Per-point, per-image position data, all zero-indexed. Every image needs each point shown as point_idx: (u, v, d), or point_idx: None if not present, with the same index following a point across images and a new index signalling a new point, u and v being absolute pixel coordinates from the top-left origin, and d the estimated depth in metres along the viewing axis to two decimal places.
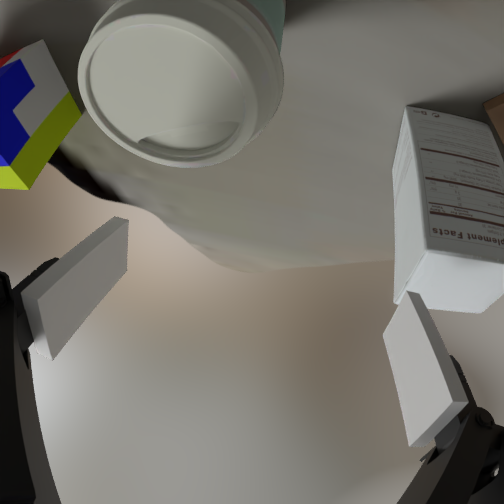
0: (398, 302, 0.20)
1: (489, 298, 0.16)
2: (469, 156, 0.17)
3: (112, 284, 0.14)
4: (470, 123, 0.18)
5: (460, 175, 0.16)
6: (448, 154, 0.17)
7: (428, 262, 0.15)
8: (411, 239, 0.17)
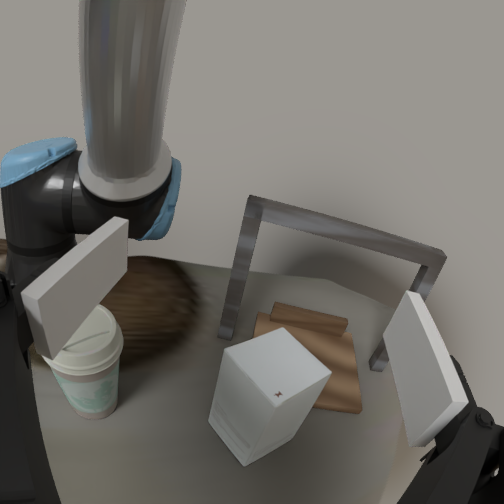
0: (274, 401, 0.23)
1: (306, 356, 0.28)
2: None
3: (112, 284, 0.14)
4: None
5: None
6: None
7: (235, 354, 0.27)
8: (232, 380, 0.27)
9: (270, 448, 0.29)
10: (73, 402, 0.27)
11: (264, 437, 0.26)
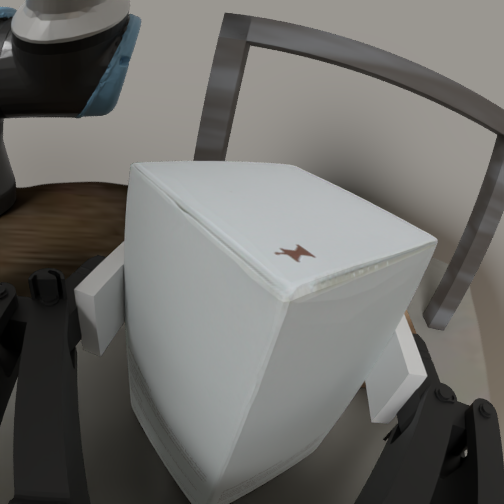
0: (278, 274, 0.05)
1: (361, 201, 0.10)
2: None
3: None
4: None
5: None
6: None
7: (156, 169, 0.09)
8: (144, 252, 0.09)
9: (266, 477, 0.11)
10: None
11: (244, 454, 0.08)
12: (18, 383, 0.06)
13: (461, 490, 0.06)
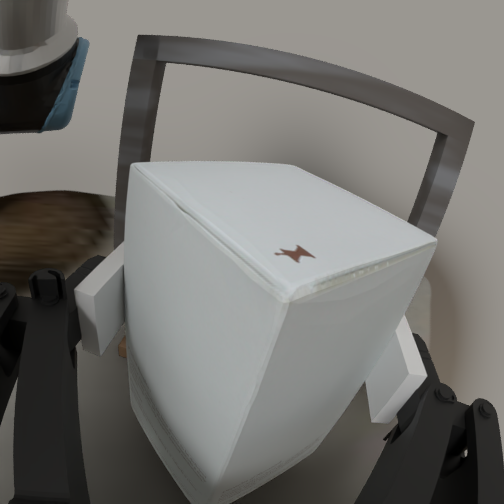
0: (278, 274, 0.05)
1: (361, 201, 0.10)
2: None
3: None
4: None
5: None
6: None
7: (156, 169, 0.09)
8: (144, 252, 0.09)
9: (266, 477, 0.11)
10: None
11: (244, 455, 0.07)
12: (18, 383, 0.06)
13: (461, 490, 0.06)
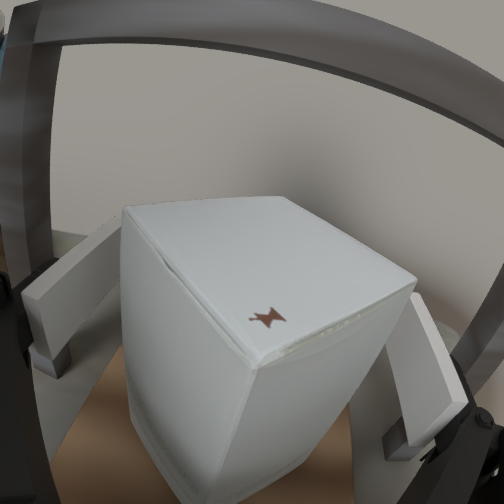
0: (250, 342, 0.06)
1: (344, 240, 0.11)
2: None
3: (112, 284, 0.14)
4: None
5: None
6: None
7: (146, 215, 0.09)
8: (137, 294, 0.09)
9: (256, 488, 0.12)
10: None
11: (230, 474, 0.08)
12: None
13: None
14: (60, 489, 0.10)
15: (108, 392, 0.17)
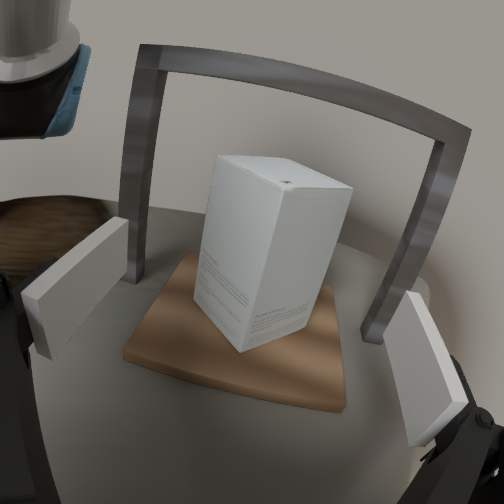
0: (281, 185, 0.18)
1: (318, 173, 0.23)
2: None
3: (112, 284, 0.14)
4: None
5: None
6: None
7: (229, 158, 0.22)
8: (225, 191, 0.21)
9: (277, 323, 0.24)
10: None
11: (268, 275, 0.20)
12: None
13: None
14: (147, 337, 0.22)
15: (176, 286, 0.29)
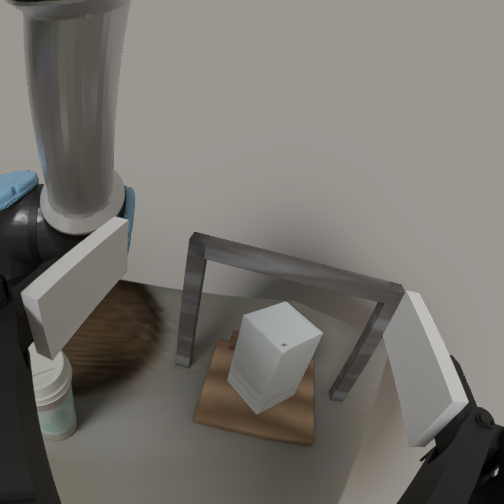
0: (281, 349, 0.34)
1: (303, 321, 0.39)
2: None
3: (112, 284, 0.14)
4: None
5: None
6: None
7: (252, 318, 0.38)
8: (249, 338, 0.38)
9: (277, 398, 0.40)
10: None
11: (273, 383, 0.37)
12: None
13: None
14: (205, 408, 0.39)
15: (215, 370, 0.45)
